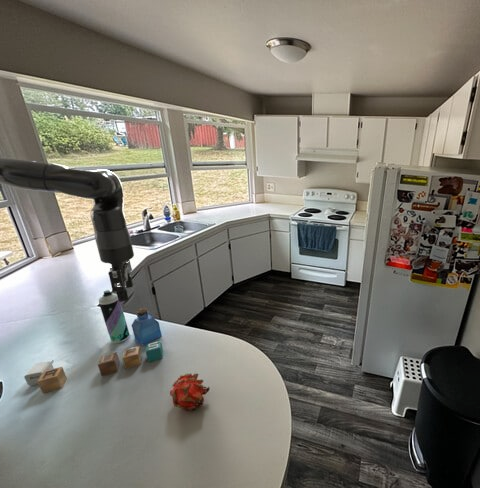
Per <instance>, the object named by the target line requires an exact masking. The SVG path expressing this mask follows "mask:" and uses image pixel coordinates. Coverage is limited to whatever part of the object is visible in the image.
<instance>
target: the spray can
mask: <svg viewBox="0 0 480 488" xmlns="http://www.w3.org/2000/svg"><path fill="white" fill-rule="evenodd" d="M98 305H99V308H100V310H101V311H100V312H101V314H102V317H103V320H104V324H105V326H106V330H107V334H108V336H109V339H110V342H111V343H112V344H120V343H123V342H125V341H127V340H128V339H129V338H130V336H131V335H130V331H129V327H128V324H127V319H126V317H125V313H124V310H123V306H122V303H121V302H119V301H118V297H117V293H114V292H111V290H104V291H103V294H102V296H100V297H99V298H98Z"/></svg>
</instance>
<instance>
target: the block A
mask: <svg viewBox="0 0 480 488" xmlns="http://www.w3.org/2000/svg"><path fill="white" fill-rule="evenodd" d="M67 378H68V377H67V375H66V372H65V370H64V367H63V366H59V367H55V368H54V369H51V370H47V371H44V372H43V373H42V375H41V377H40V378H39V380H38V384H37V385H38V386H39V388H40V390H41V393H42V394H46V393H49V392H53V391H57V390H59V389H62V388H63V386H64V384H65V382H66V380H67Z"/></svg>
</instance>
